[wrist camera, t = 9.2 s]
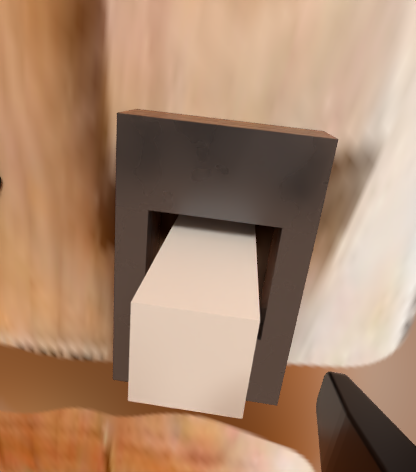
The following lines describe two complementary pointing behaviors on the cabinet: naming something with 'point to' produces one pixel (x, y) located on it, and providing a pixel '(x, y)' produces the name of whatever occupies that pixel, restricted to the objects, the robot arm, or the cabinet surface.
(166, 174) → the square hole rail
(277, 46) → the cabinet surface
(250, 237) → the square peg
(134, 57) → the cabinet surface
